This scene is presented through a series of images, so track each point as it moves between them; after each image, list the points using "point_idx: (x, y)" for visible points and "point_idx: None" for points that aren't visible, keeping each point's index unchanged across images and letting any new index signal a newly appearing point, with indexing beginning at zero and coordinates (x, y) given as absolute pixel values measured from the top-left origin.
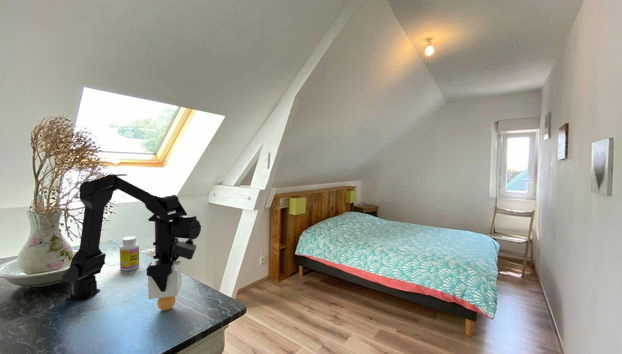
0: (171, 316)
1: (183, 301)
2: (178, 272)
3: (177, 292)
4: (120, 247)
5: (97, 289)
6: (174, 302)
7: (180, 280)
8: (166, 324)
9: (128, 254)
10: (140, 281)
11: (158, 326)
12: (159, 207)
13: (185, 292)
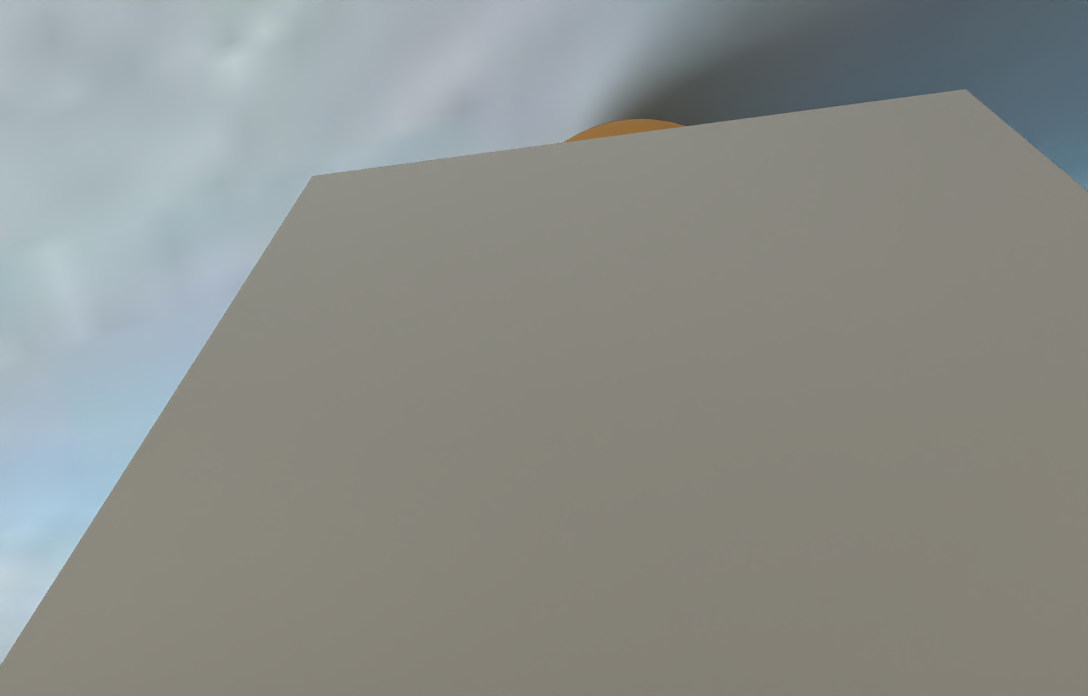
0: (858, 65)
1: (410, 7)
2: (974, 568)
3: (1006, 124)
4: None
5: None
6: (666, 126)
7: (449, 242)
8: (1068, 70)
9: None
10: (13, 619)
11: (1066, 165)
12: None
13: (107, 66)
